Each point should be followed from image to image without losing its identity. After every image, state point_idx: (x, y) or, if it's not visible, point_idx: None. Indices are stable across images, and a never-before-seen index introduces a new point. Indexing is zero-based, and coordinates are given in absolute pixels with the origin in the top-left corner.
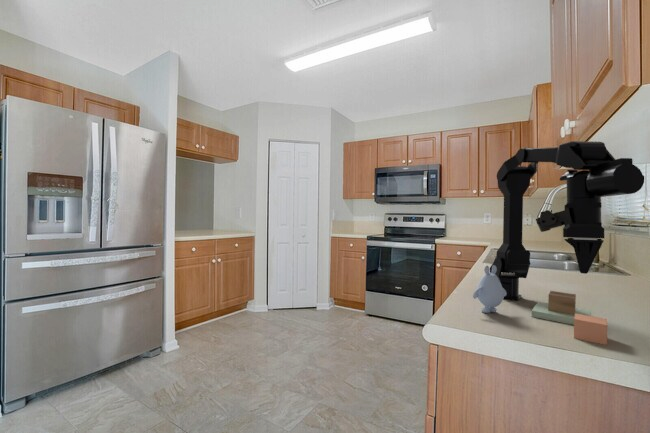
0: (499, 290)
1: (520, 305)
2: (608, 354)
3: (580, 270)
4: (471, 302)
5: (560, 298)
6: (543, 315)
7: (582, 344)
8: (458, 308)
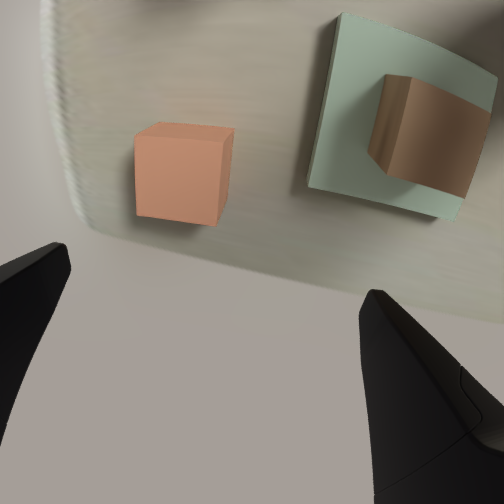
0: None
1: (478, 21)
2: (95, 184)
3: (43, 249)
4: None
5: (396, 121)
6: (333, 49)
7: (120, 139)
8: None
